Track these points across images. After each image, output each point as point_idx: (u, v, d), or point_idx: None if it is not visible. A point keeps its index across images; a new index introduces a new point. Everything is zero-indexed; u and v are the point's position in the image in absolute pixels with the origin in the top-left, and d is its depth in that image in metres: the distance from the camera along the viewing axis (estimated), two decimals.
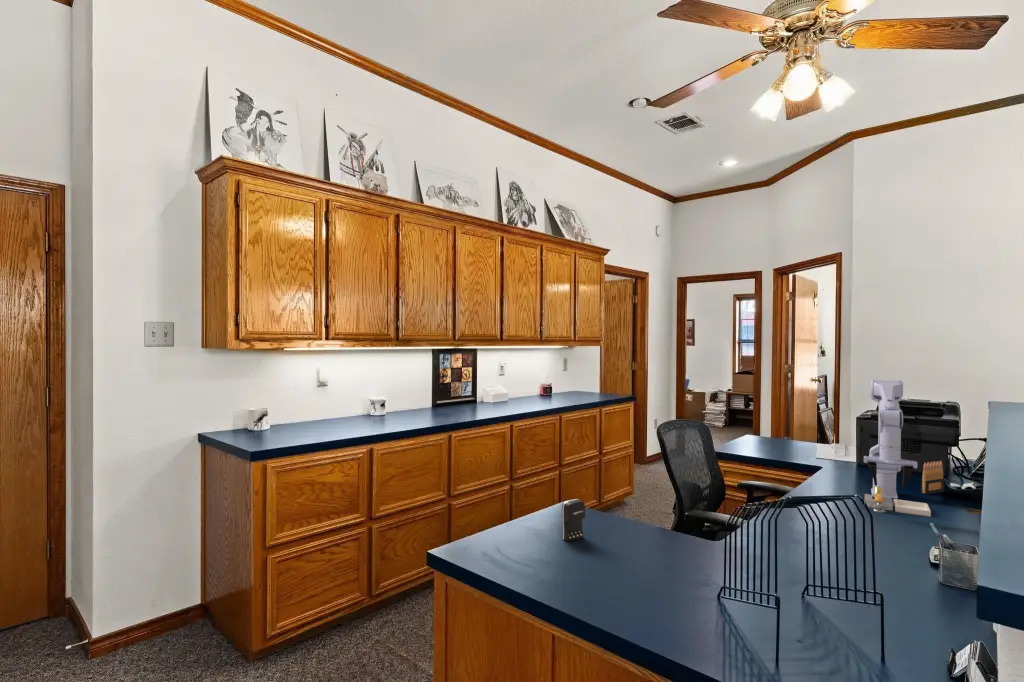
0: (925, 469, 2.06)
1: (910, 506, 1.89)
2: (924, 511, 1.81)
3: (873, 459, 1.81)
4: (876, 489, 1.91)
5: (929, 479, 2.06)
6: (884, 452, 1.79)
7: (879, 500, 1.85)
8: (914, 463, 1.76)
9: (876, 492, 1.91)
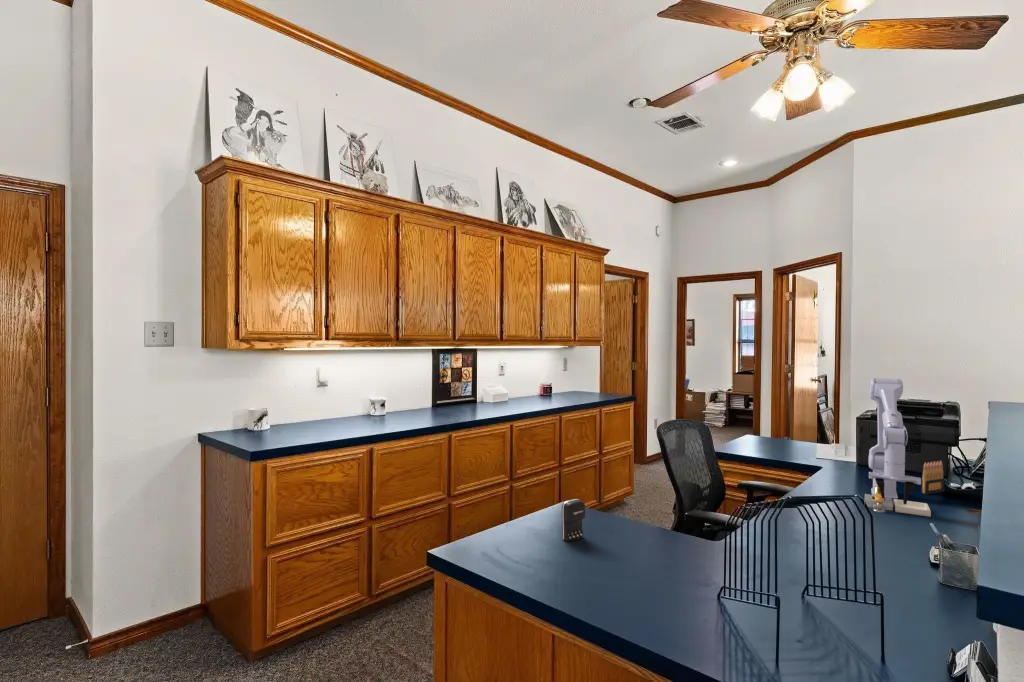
0: (925, 469, 2.06)
1: (910, 506, 1.89)
2: (924, 511, 1.81)
3: (878, 475, 1.87)
4: (876, 489, 1.91)
5: (929, 479, 2.06)
6: (888, 469, 1.85)
7: (879, 500, 1.85)
8: (918, 479, 1.81)
9: (876, 492, 1.91)
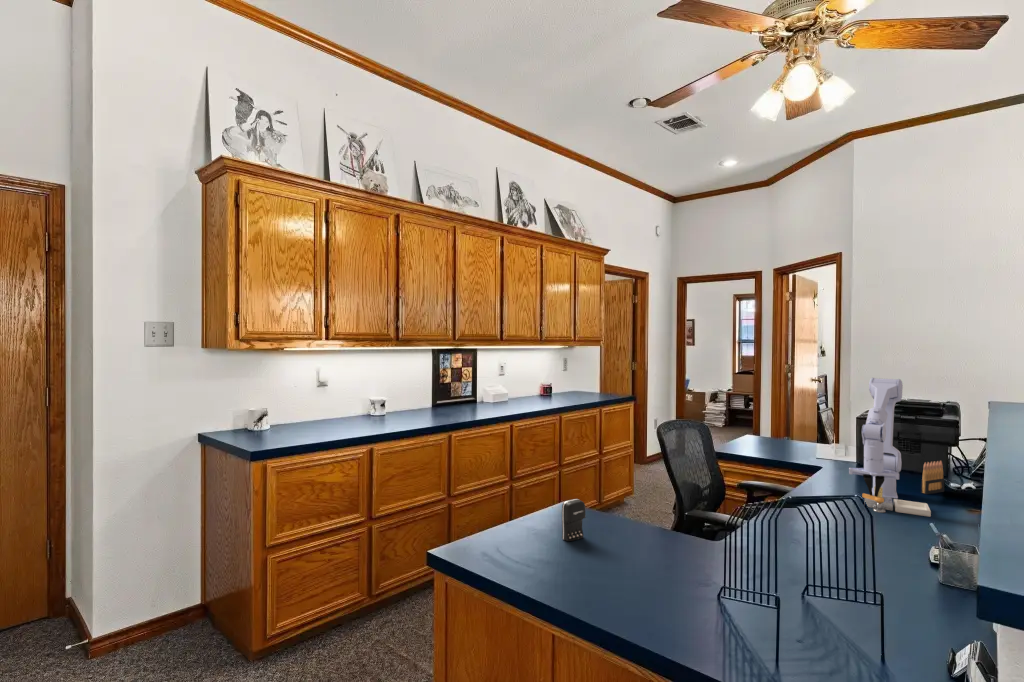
0: (925, 469, 2.06)
1: (910, 506, 1.89)
2: (924, 511, 1.81)
3: (858, 471, 1.90)
4: None
5: (929, 479, 2.06)
6: (868, 464, 1.88)
7: (883, 500, 1.85)
8: (896, 475, 1.85)
9: None
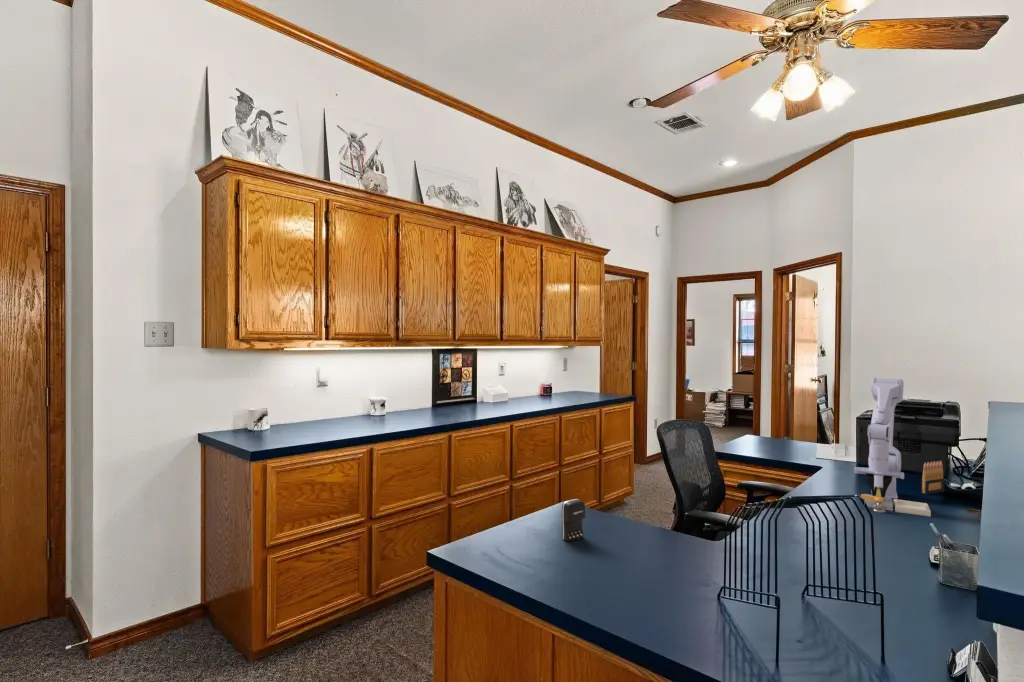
0: (925, 469, 2.06)
1: (910, 506, 1.89)
2: (924, 511, 1.81)
3: (863, 470, 1.93)
4: (876, 489, 1.91)
5: (929, 479, 2.06)
6: (873, 464, 1.91)
7: (883, 500, 1.85)
8: (901, 474, 1.87)
9: (876, 492, 1.91)
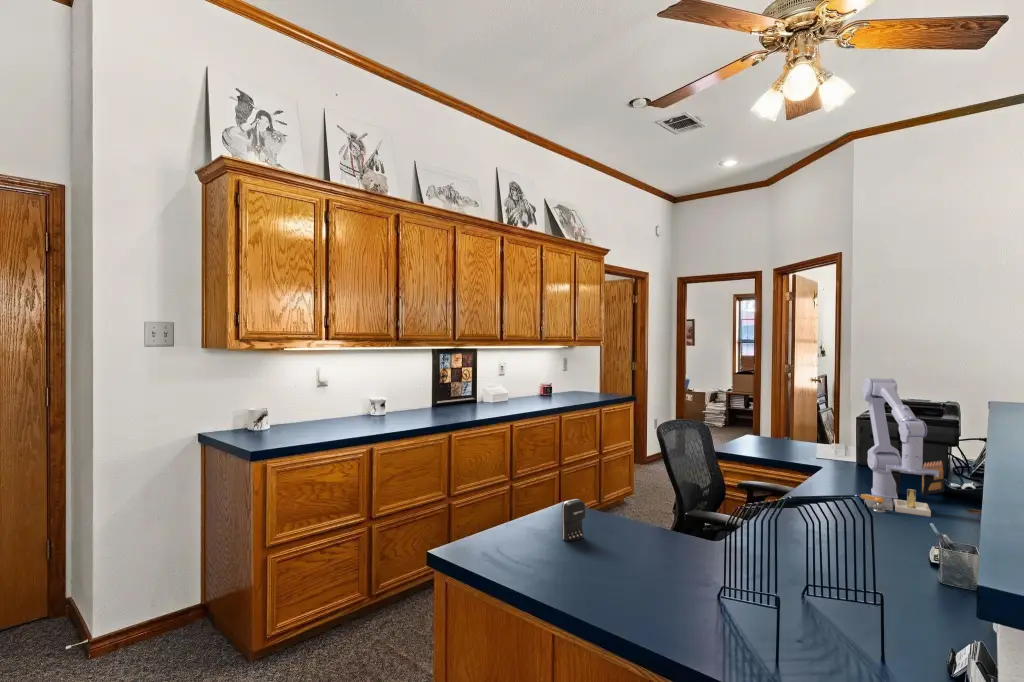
0: None
1: None
2: (924, 511, 1.81)
3: (896, 468, 1.88)
4: (909, 492, 1.86)
5: None
6: (906, 462, 1.86)
7: (883, 500, 1.85)
8: (936, 472, 1.82)
9: (909, 495, 1.86)
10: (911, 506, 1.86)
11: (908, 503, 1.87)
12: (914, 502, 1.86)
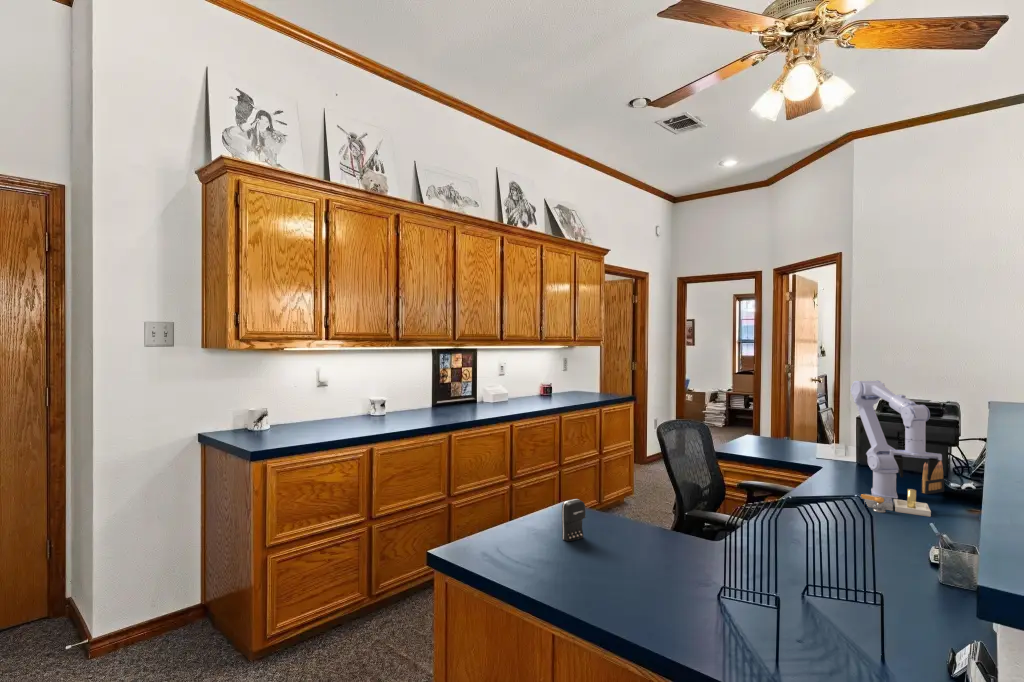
0: (925, 469, 2.06)
1: None
2: (924, 511, 1.81)
3: (899, 452, 1.90)
4: (909, 492, 1.86)
5: None
6: (909, 445, 1.88)
7: (883, 500, 1.85)
8: (939, 455, 1.85)
9: (909, 495, 1.86)
10: (911, 506, 1.86)
11: (908, 503, 1.87)
12: (914, 502, 1.86)
